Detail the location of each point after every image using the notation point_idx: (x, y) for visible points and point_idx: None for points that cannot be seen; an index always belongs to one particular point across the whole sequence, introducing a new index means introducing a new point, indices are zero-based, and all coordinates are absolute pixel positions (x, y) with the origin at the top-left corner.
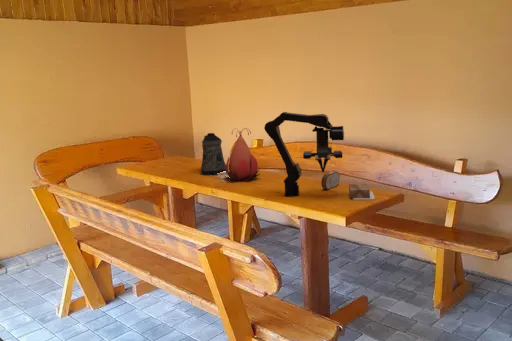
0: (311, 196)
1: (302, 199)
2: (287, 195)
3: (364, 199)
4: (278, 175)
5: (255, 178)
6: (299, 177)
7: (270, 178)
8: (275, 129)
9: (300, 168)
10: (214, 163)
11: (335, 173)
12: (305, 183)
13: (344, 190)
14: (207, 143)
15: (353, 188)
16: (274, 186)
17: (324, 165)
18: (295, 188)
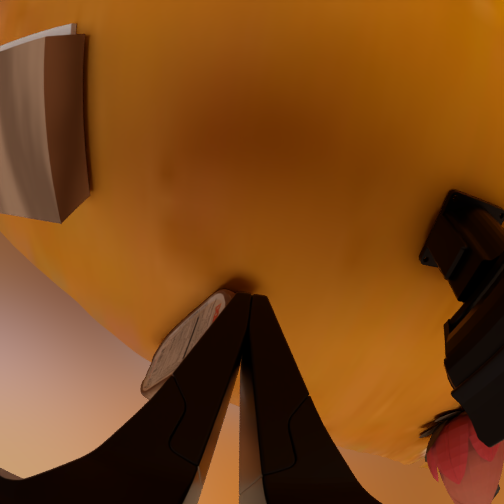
0: (365, 157)
1: (444, 100)
2: (496, 207)
3: (24, 37)
4: (360, 439)
5: (440, 419)
6: (491, 294)
7: (397, 424)
8: None
9: (463, 403)
10: None
11: (153, 385)
12: (310, 387)
13: (123, 254)
14: (497, 488)
15: (25, 93)
16: (443, 366)
17: (199, 387)
18: (474, 236)
